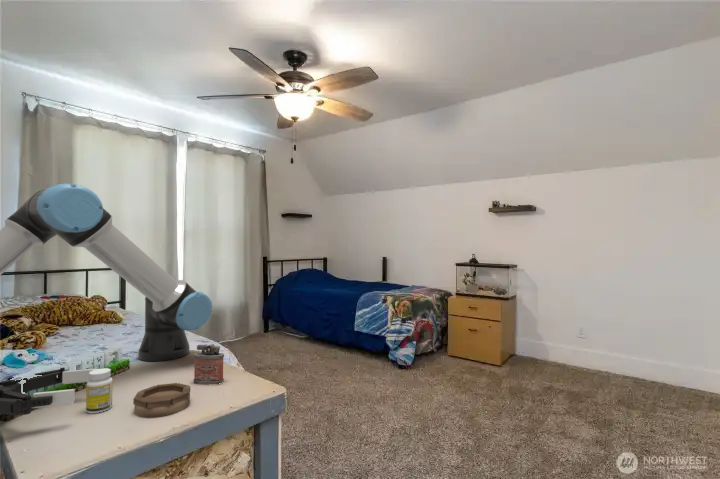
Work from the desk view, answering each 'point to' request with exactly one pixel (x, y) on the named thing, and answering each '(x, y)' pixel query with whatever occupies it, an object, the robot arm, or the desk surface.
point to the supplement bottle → (99, 391)
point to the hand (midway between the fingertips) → (86, 384)
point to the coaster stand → (162, 400)
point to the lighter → (208, 365)
